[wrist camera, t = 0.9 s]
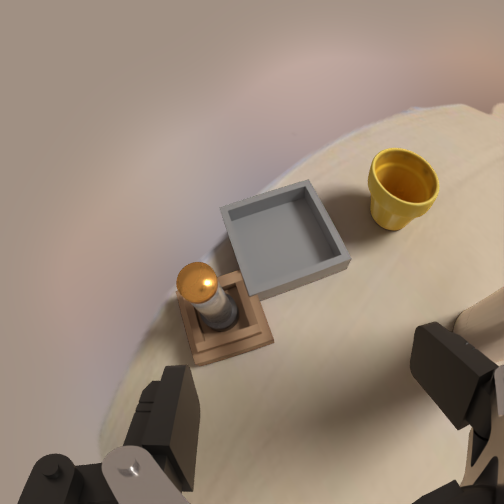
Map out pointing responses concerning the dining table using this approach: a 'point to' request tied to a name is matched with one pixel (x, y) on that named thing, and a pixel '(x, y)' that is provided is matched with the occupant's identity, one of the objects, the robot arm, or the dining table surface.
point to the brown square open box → (234, 340)
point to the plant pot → (400, 187)
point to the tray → (284, 240)
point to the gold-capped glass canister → (207, 296)
